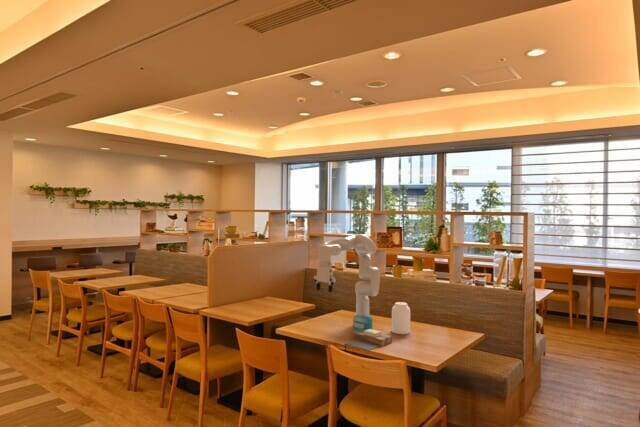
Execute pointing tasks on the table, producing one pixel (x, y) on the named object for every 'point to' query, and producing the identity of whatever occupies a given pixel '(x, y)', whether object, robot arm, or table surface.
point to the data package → (361, 323)
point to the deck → (374, 338)
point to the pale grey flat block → (372, 333)
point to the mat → (362, 345)
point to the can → (400, 318)
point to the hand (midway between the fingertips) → (324, 290)
